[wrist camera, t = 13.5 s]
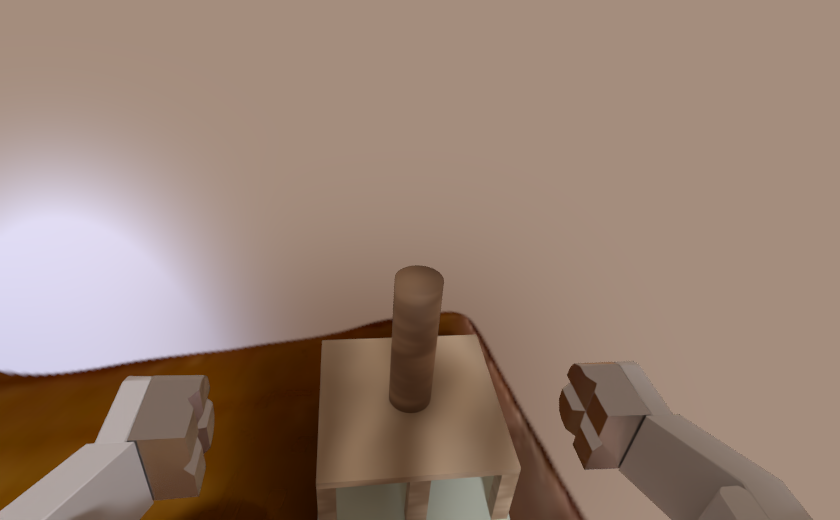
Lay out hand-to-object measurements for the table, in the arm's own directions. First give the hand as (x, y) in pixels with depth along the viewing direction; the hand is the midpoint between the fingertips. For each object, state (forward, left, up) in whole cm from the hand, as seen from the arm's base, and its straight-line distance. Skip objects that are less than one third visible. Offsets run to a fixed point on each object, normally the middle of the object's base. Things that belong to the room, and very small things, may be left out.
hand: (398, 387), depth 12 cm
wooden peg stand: (+4, +19, -27) cm, 33 cm away
